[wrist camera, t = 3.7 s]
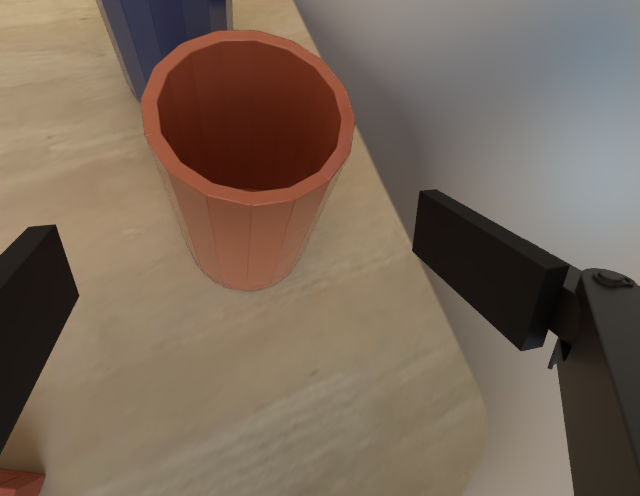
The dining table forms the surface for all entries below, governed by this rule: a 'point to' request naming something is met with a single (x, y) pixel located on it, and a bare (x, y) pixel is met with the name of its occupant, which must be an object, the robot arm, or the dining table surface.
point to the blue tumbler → (158, 31)
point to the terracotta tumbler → (246, 149)
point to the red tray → (20, 483)
